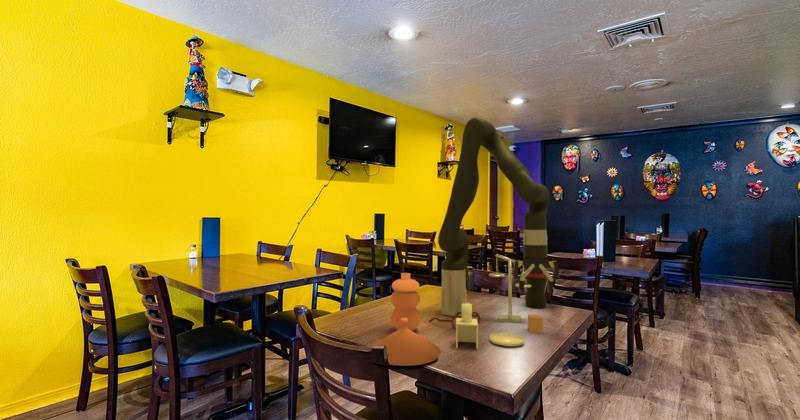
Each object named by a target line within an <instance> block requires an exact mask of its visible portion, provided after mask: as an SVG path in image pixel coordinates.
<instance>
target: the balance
mask: <svg viewBox="0 0 800 420" xmlns="http://www.w3.org/2000/svg"><path fill="white" fill-rule="evenodd" d="M495 257H496V259H495V261H496V264H495V265H496V272H495V273H494V272H491V273H489V274H488V277H492V278H505V274H504V273H499V272H498V258H500V259H503V260H504V261H507V262H508V263H507V264H508V266H507V270H508V271H507V272H508V275H507V276H508V277H507V278H508V279H507V281H508V284H507V286H508V287H507V289H508V290H507V293H508V295H507V296H508V297H507V299H508V300H507V302H508V303H507V305H508V306H507V309H508V313H507V314H498V315H497V319H498V322H499V323H501V322H502V323H523V322H524V321H523V318H522V316H521V315H518V314H517V315H516V314H515V315H514V314H513V313H512V312H513V310H512V309H513V307H512V306H513V302H512V301H513V299H512V298H513V297H512V296H513V295H512V293H513V290H512V289H513V288H512V287H513V283H512V282H513V279H512V278H513V264H514V259H512V258H510V257H507V256H505V255H501V254H499V253H496V254H495ZM520 267H522V271H523V270H524V269H525V267H524V266H523V265H522V264H521V266H520ZM523 281H524V289H525V288H526V289H527V288H529V287H531V285H530V284H527V279H525V278H524V280H523ZM515 287H517V288H519V282H518V283H515Z"/></svg>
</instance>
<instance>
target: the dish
mask: <svg viewBox="0 0 800 420" xmlns="http://www.w3.org/2000/svg"><path fill="white" fill-rule="evenodd" d="M489 341H490V342H491V343H493V344H495V345H498V346H505V347H519V346H522V345H524V343H525V338H524V337H523V336H522V335H520V334H517V333H511V332H501V331H500V332H493V333H491V334H489Z"/></svg>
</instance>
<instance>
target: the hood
mask: <svg viewBox="0 0 800 420" xmlns="http://www.w3.org/2000/svg"><path fill="white" fill-rule="evenodd" d="M472 312H473V305H472V303H469V302H466V303H463V304H462V316H461V318H459V317H456V318H455V328H456V330H455V341H456V342H455V348H456V349H458V348H459V347H458V346H459V345H458V343H459V342H460V343H461V342H462V343H463V342H464V343H475V350H479V324H478V318H473V316H472Z"/></svg>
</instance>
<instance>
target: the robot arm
mask: <svg viewBox="0 0 800 420" xmlns="http://www.w3.org/2000/svg"><path fill="white" fill-rule="evenodd" d="M481 147H483V148H484V149H486V150H487V151H488V152H489V153H490V154H491V156H492V157H493V158H494V161H495V163H496V165H497V166H498V168H499V171H500V172H501V173H502V174H503V175H504V177H505V178H506V179H507V180H508V181H509V183H510V184H511V185H512V187H513V189H514V190H515V192H516V194H517V195H518V196H519V198H520V199H521V200H522V201H523V202H524V203H526V205H528V209H527V212H526V213H525V214H524V217H523V236H522V237H523V238H522V239H523V240H522V242H523V243H522V244H523V260H516V259H515V260H514V259H513V260H514V263H513V266H512V278H514V279H515V280H518V283H519V287H518V289H519V291H520V292H521V293H524V292H525V288H524V281H523V280H524V279H525V277H526V276H527V275H528V274H529V273H530V274H542V273H543V274H544V275H545V276H546V284H547V286H546V289H547V293H548V294H551V293H552V292H553V290H554V281H556V280H557V281H558V280H559V279H560V274H559V273H560V272H559V262H558V261H557V260H552V261H549V259H548V257H549V256H548V255H549V254H548V233H547V213H548V209H549V205H550V204H549V203H550V192H549V190H548V188H547V187H546V186H545V185H544V184H542V183H537V182H535V181H534V180H533V178H532V177H531V172H530V171H529V170H528V168H527V167H526V166H525V165H524V164H523V163H522V162H521V161H520V160H519V158H518V157H517V156H516V155H515V154H514V153H513V152H512V150H510V148H509V147H508V146H507V144H506V143H505V142H504V140H503V138H502V137H501V135H500V134H499V132H498V131H497V128H495V126H494V125H493V123H491V122H490V121H488V120H486V119H483V118H481V117H473V118H470V119H469V120H468V121H467V122H466V124H465V125H464V129H463V133H462V139H461V148H460V154H459V158H458V163H457V169H456V173H455V175H454V180H453V184H452V187H451V193H450V197H449V201H448V204H447V209H446V212H445V216H444V219H443V221H442V225H441V227H440V230H439V234H438V239H437V243H438V246H439V248H440V250H441V251H442V252H444V253H447V254H446V257H445V259H444V260H442V262H441V290H440V291H441V298H440V299H441V302H440V304H441V305H440V306H441V309H440V310H441V312H440V313H441V315H444V316H445V315H446V316H451V317H454V316H456V314H457V313H458V312H462V304H463V303H467V302H466V298H467V297H466V294H467V293H466V290H467V288H466V281H467V280H466V278H467V277H466V265H467V263H468V258H469V236H468V234H467V232H466V230H464V229H463V228H461V227H462V222H463V219H464V217H465V216H466V214H467V212H468V211H469V208H470V207H471V206H472V204H473V203H474V200H475V198H476V195H477V192H478V188H479V184H480V175H479V172H480V171H479V167H478V166H479V164H478V159H479V158H478V157H479V152H480V149H481ZM521 264H522V265H523V266H524V270H523V269H522V272H521V274H520V275H519V268H521V267H523V266H521ZM549 266H550V267H551V269H552V274H553V275H551V274H550V273H549V272H548V270H547V269H548V267H549ZM459 316H460V317H462V314H459Z"/></svg>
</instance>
